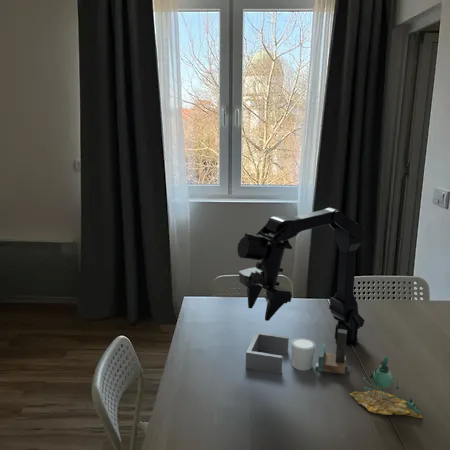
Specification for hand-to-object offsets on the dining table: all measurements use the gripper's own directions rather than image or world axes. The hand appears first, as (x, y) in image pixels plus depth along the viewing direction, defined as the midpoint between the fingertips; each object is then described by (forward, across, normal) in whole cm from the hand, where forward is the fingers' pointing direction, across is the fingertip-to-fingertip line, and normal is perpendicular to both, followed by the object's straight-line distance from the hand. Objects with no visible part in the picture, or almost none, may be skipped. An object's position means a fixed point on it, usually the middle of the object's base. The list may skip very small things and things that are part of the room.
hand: (258, 314), depth 132 cm
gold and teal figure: (+11, +32, +21) cm, 40 cm away
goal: (+14, 0, +8) cm, 16 cm away
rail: (+11, +12, +21) cm, 26 cm away
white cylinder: (+12, +7, +15) cm, 20 cm away
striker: (+9, +12, +20) cm, 26 cm away
